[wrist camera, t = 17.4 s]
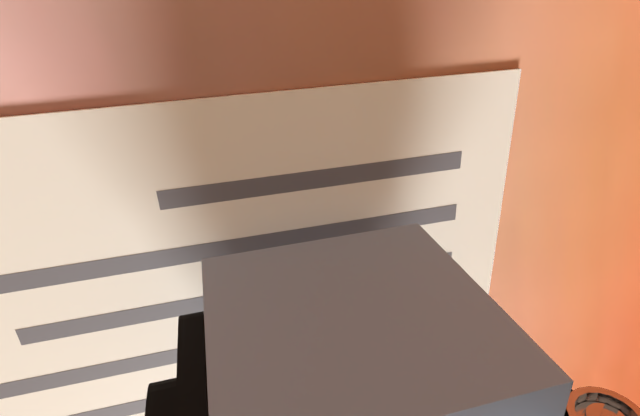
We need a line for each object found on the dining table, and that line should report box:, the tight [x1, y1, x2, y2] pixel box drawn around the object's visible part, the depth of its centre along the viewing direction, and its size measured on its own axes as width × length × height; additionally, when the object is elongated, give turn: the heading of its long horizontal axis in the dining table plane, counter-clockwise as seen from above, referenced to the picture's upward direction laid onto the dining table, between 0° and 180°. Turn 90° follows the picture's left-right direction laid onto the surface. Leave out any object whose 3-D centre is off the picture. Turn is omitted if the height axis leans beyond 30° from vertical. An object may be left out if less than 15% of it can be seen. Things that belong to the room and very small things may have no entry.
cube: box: [201, 223, 573, 416], centre depth 9 cm, size 5×5×5 cm
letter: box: [0, 68, 521, 416], centre depth 13 cm, size 18×11×1 cm, turn 90°
